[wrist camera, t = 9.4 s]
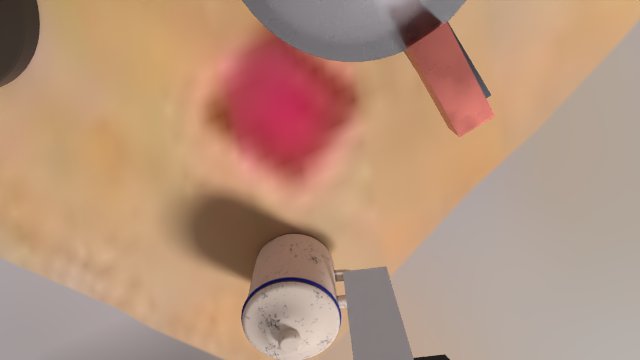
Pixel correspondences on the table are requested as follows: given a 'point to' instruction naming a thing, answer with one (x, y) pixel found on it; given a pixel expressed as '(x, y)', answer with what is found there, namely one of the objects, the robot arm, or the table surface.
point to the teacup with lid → (293, 299)
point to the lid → (386, 44)
